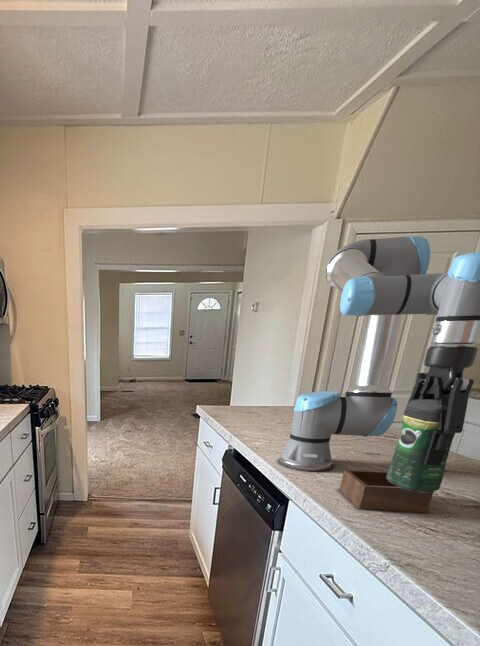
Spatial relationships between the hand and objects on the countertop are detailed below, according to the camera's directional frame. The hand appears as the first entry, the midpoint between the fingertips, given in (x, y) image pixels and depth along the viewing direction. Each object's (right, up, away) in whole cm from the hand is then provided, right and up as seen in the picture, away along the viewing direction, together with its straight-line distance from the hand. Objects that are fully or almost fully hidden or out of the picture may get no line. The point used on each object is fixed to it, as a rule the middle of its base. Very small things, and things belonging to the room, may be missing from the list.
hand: (419, 457), depth 86 cm
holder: (+5, -9, +18) cm, 21 cm away
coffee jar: (0, -6, +2) cm, 7 cm away
